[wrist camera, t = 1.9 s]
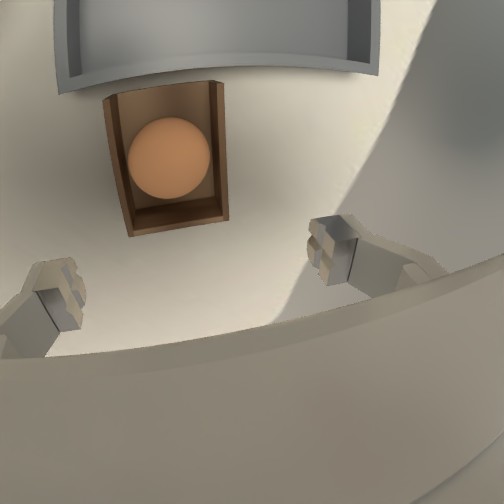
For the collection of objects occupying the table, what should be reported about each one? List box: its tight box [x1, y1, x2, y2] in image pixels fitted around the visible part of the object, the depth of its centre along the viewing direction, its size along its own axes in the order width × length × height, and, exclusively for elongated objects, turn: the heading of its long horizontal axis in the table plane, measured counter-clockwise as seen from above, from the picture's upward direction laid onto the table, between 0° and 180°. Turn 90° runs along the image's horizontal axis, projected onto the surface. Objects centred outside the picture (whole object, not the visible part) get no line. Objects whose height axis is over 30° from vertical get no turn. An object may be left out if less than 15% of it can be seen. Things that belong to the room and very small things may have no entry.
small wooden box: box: [102, 80, 229, 237], centre depth 18 cm, size 7×9×4 cm
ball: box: [128, 117, 210, 199], centre depth 17 cm, size 5×5×5 cm
